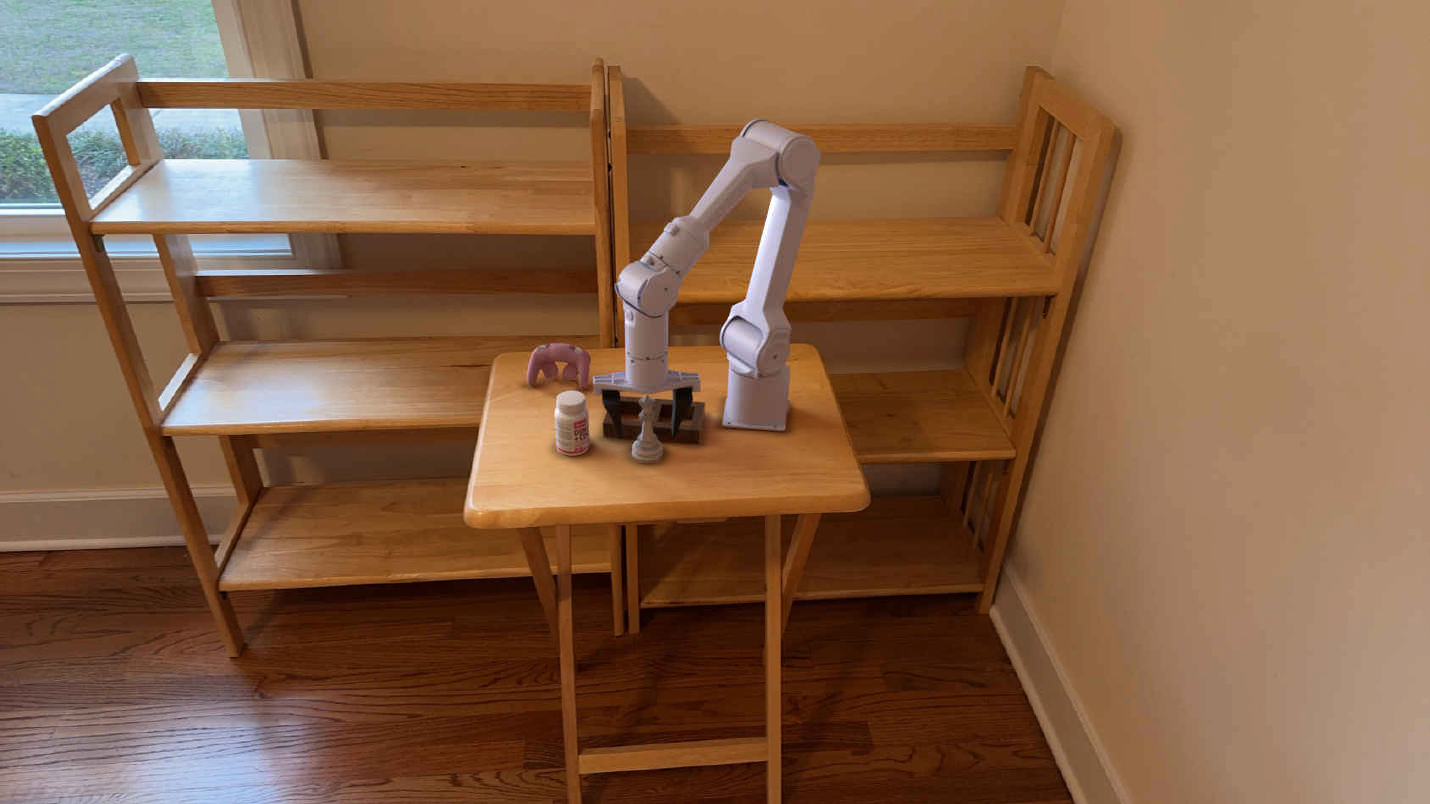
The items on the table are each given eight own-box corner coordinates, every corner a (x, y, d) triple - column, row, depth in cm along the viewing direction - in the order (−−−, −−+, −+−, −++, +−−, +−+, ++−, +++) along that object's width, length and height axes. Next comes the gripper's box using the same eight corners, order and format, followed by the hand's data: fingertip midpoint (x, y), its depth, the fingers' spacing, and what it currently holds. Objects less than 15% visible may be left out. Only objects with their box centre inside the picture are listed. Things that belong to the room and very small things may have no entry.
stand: (704, 416, 146) (705, 402, 145) (699, 444, 139) (699, 430, 138) (612, 408, 147) (612, 395, 146) (603, 437, 140) (602, 423, 139)
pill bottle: (580, 459, 135) (578, 409, 131) (550, 452, 137) (547, 402, 132) (595, 442, 139) (593, 393, 135) (566, 435, 140) (563, 386, 136)
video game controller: (591, 388, 155) (594, 345, 154) (585, 390, 150) (588, 346, 149) (531, 383, 155) (533, 340, 155) (523, 385, 151) (526, 341, 150)
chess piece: (666, 461, 136) (666, 402, 130) (635, 466, 134) (635, 406, 129) (658, 444, 139) (658, 385, 134) (629, 448, 138) (628, 389, 133)
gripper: (697, 334, 132) (695, 416, 139) (591, 336, 130) (595, 420, 137) (703, 359, 126) (700, 444, 133) (592, 362, 124) (595, 448, 131)
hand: (647, 434), depth 135 cm, fingers open, 7 cm apart
